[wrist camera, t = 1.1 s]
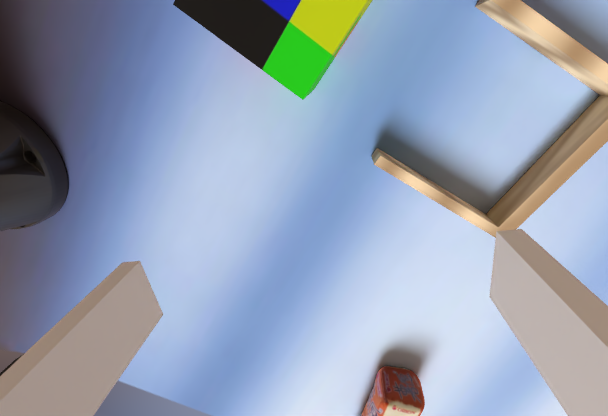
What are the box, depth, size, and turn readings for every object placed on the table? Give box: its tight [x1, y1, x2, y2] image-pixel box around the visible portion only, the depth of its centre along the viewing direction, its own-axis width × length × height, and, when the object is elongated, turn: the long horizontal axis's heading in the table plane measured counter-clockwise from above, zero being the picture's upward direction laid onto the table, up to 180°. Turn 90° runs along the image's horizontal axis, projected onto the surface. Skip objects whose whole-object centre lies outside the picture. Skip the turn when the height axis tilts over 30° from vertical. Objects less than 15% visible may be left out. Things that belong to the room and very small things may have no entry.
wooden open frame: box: [372, 0, 608, 238], centre depth 29 cm, size 16×16×3 cm
